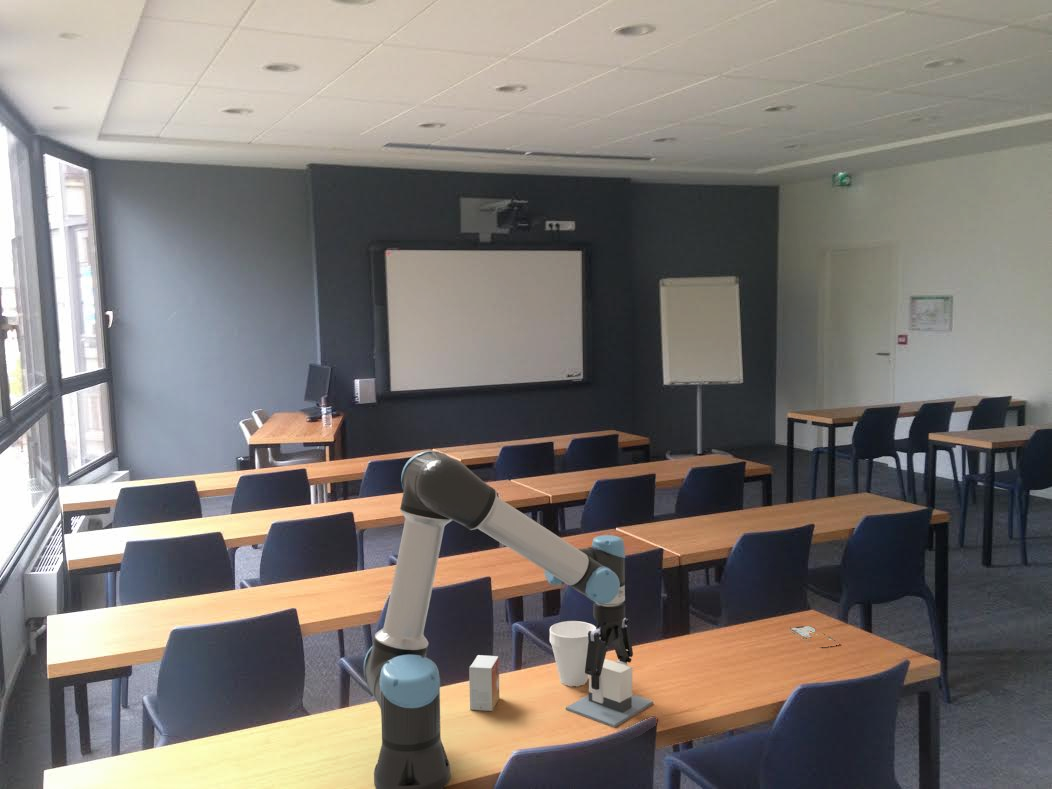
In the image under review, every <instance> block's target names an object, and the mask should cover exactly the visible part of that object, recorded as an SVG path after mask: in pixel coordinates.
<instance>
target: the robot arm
mask: <svg viewBox="0 0 1052 789" xmlns="http://www.w3.org/2000/svg"><path fill="white" fill-rule="evenodd" d="M400 475H401V478H400V482H401V486H402V487H401V488H402V490H403V493H402V498H401V503H400V507H399V511H400V513H401V514H402V515H403V517H404V524H403V529H402V533H401V534H402V535H401V539H400V544H399V549H398V555H397V557H396V558H397V560H396V565H395V569H394V575H393V580H392V583H391V584H392V585H391V590H390V595H389V599H388V605H387V610H386V613H385V619H384V624H383V628H381V629H380V630H378V631H377V632H375V634H374V640H373V644H372V646H371V647H370V648H369V650H368V651H367V652H366V655H365V658H364V660H363V676H364V678H365V683H366V685H367V687H368V688H369V690H370V691H371V693H372V695H373V697H374V699H375V701H376V702H377V704H378V706H379V709H380V716H381V746H380V751H379V755H378V759H377V763H376V764H375V767H374V770H373V784H374V787H375V789H444V788H445V787H446V786H447V785H448V783H450V779H451V766H450V762H449V759H448V756H447V755H448V754H447V753H446V750H445V748H444V744H443V742H442V740H441V739H442V738H441V699H440V698H441V694H440V693H441V678H440V674H439V673H440V672H439V668H438V666H437V665H436V663H435V662H434V661H432V659H430V658H428V657H427V652H428V649H429V641H428V639H427V638H426V637H425V635H424V631H425V627H426V626H425V625H426V622H427V616H428V612H429V611H428V610H429V607H430V601H431V597H432V591H433V587H434V582H435V581H434V580H435V576H436V572H437V566H438V561H439V556H440V551H441V546H442V540H443V536H444V531H445V526H446V525H447V524H449V523H451V522H452V521H454V522H455V523H458V524H460V525H462V527H463V526H464V527H465V528H467V529H469V531H472V530H473V531H474V530H477V529H478V530H479V531H480V532H483V533H484V534H486V535H488V536H489V537H491V538H492V539H494V540H495V541H496V542H499V543H500V544H502V545H503V546H505V547H507V548H509V549H510V550H512V551H513V552H515V553H516V554H517V555H519V556H521V557H523V558H525V559H526V560H528V561H530V562H531V563H533V564H534V565H536V566H538V567H539V568H540V569H542V570H543V571H544V576H545V579H546V581H547V583H548V584H550V585H551V586H563V585H568V586H569V587H571V588H572V589H574V591H575V590H576V591H577V592H579V593H580V594H582V595H583V596H586V598H588V599H589V600H590V601H592V602H593V605H592V607H593V608H592V609H593V611H592V613H593V614H592V615H593V618H594V619H595V621H596V626H595V627H596V630H595V631H593V632H592V631H589V632H588V649H587V658H586V666H585V674H588V676H589V675H591V682H592V683H591V687H592V700H593V701H596V702H599V703H601V704H602V703H603V675H601V672H602V668H603V664H604V660H605V659H606V655H607V651H608V649H609V648H610V647H611V643H612V645H613V646H612V647H613V648H614V651H615V654H616V657H617V660H615V662H617V663H621V664H624V665H627V666H628V663H629V664H631V662H632V657H633V656H634V651H633V645H632V639H631V630H630V624H631V620H630V618H626V604H625V601H626V596H625V595H626V592H625V590H626V585H625V584H626V583H625V582H626V580H625V579H626V576H625V574H626V573H625V572H626V549H625V541H624V540H623V538H622V537H620V536H618V535H617V536H616V535H611V534H606V535H604V534H602V535H599V536H595V537H594V538H593V539H592V544H591V546H590V547H589V546H588V547H585V548H584V547H583V548H577V547H575V546H574V545H572V543H571V544H570V543H569V542H568V541H566V540H564V539H563V538H561V537H560V536H558V535H557V534H555V533H554V532H552V531H551V530H550V529H547V528H546V527H545V526H543V525H541V524H539V522H537V521H536V520H534V519H532V518H531V517H529V516H527V515H526V514H524V513H523V512H521V511H520V510H518V509H517V508H515V507H514V506H512V505H511V504H509V503H507V502H506V501H504V500H503V499H501V498H500V497H498V493H497V490H496V489H495V488H493V487H492V486H491V485H489V484H488V483H486V482H485V481H483V479H481V478H480V477H479V476H477V475H476V474H475V473H474V472H473V471H472V470H470V468H468V467H467V466H466V465H464V463H462V462H461V461H459V460H457V459H456V458H452V457H450V456H449V455H447V454H446V453H443V452H439V451H434V450H433V451H432V450H427V451H422V452H419V453H416V454H415V455H413V456H412V457H411V458H409V459H408V460H407V461H406V463H405V465H404V466H403V468H402V472H401V474H400Z"/></svg>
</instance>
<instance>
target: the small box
mask: <svg viewBox="0 0 1052 789" xmlns="http://www.w3.org/2000/svg"><path fill="white" fill-rule="evenodd" d="M468 670H469V672H468V674H469V675H468V676H469V680H468V682H469V709H470V710H471V711H483V712H484V711H485V712H487V711H488V712H493V711H494V709H495V706H496V704H497V703H498V701H499V700H500V656H497V655H486V654H485V655H483V654H481V655H480V654H478V655H476V657H475V659H474V660H473V662H472V664H470V666H469V667H468Z"/></svg>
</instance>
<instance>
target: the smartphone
mask: <svg viewBox="0 0 1052 789" xmlns="http://www.w3.org/2000/svg"><path fill="white" fill-rule="evenodd" d="M814 628H815V627H814V626H811V625H804V626H803V625H802V626H793V627H790V628H789V631H790V630H792V631H794V632H795V633H797V634H799V635H800V636H804V637H803V638H805V639H807V638H806V637H808V638H812V637H811V636H810V635H809V633H812V632H815V629H816V628H815V629H814ZM810 631H812V632H810ZM812 634H814V633H812ZM823 634H824V635H826V634H825V633H823ZM816 635H817V634H816ZM828 637H829V640H833V639H834V638H832V637H830V636H828ZM808 641H809V640H808ZM833 641H836V640H835V639H834V640H833ZM810 642H811V641H810Z"/></svg>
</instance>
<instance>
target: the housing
mask: <svg viewBox="0 0 1052 789" xmlns="http://www.w3.org/2000/svg"><path fill="white" fill-rule="evenodd" d="M601 675H603V697H605V698H608V699H611V700H614V701H617V702H619V703H620V702H622V701H624V700H626V699H628V698H630V697H631V696H632V694H633V666H630V665H628V664H627V665H624V664H621V663H617V662H616V661H614V660H610V659H607V658H605V660H604V664H603V668H602V672H601ZM591 683H592V682H591V675H588V691H589V692H590V693H592V687H591Z"/></svg>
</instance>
